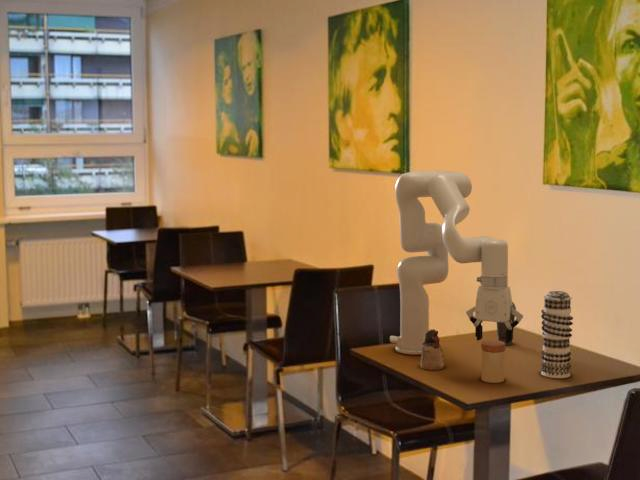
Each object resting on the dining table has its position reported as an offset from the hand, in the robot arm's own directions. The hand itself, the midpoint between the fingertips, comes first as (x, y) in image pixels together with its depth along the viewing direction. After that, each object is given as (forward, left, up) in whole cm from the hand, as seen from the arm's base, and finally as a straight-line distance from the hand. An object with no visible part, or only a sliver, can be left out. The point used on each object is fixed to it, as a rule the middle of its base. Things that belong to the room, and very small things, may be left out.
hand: (494, 340), depth 261 cm
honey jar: (0, 0, -12) cm, 12 cm away
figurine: (-21, +5, -12) cm, 25 cm away
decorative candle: (+15, +14, -12) cm, 24 cm away
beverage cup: (-10, +45, -12) cm, 48 cm away
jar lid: (0, 0, -1) cm, 1 cm away
